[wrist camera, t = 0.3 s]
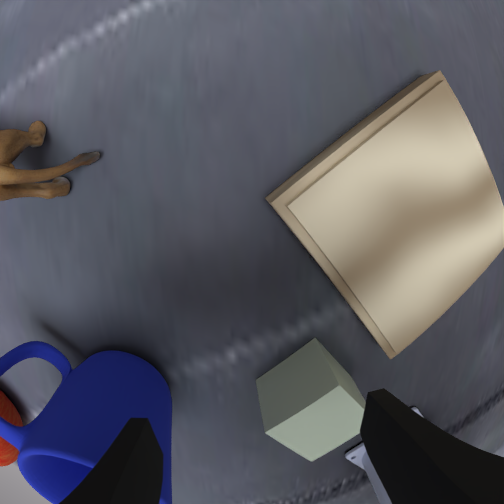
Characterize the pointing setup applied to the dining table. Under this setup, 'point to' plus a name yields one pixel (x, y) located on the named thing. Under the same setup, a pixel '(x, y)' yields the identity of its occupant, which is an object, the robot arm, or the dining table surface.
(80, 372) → the mug
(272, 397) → the sage cube
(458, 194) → the plinth
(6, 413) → the apple
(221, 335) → the dining table surface
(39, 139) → the lion figurine
